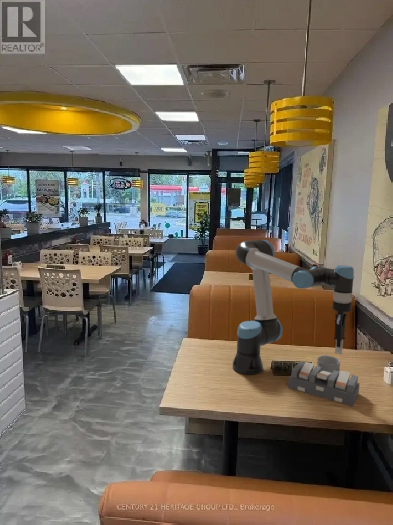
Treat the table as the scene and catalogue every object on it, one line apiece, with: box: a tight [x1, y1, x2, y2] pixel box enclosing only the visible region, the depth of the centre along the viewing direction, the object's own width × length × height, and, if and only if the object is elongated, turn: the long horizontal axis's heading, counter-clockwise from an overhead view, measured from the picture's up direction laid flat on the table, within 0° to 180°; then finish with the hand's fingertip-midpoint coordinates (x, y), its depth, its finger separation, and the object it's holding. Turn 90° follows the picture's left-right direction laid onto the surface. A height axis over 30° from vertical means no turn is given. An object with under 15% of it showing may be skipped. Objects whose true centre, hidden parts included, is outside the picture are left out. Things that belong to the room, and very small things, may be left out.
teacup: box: [316, 354, 341, 374], centre depth 190 cm, size 14×11×8 cm
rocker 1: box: [299, 361, 315, 380], centre depth 175 cm, size 4×10×2 cm, turn 148°
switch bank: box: [287, 361, 360, 407], centre depth 172 cm, size 28×13×8 cm, turn 58°
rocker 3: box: [335, 370, 351, 390], centre depth 167 cm, size 4×10×2 cm, turn 148°
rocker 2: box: [317, 371, 331, 380], centre depth 171 cm, size 4×10×2 cm, turn 148°
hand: (338, 353), depth 169 cm, fingers closed
